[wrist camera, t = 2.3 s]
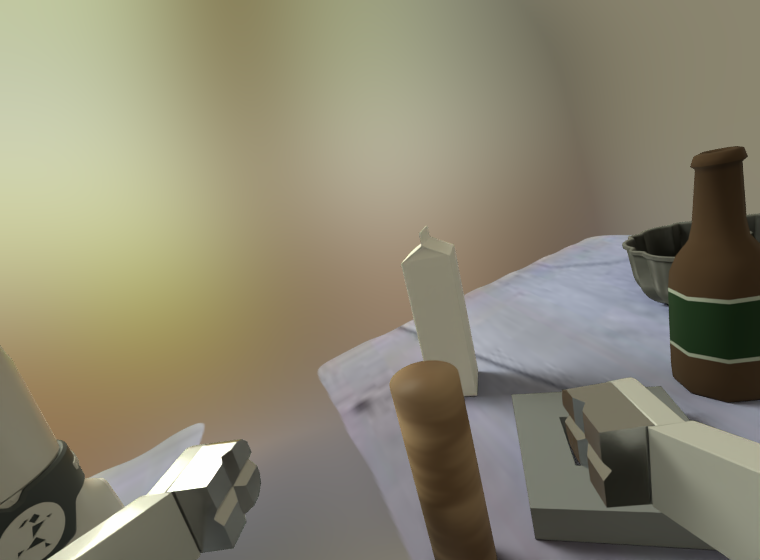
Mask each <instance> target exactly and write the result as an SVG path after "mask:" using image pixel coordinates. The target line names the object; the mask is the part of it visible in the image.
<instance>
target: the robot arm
mask: <svg viewBox="0 0 760 560" xmlns="http://www.w3.org/2000/svg"><path fill="white" fill-rule="evenodd" d="M562 402H563V406H564V408H565V409H566V411H567V412H568V414H569V416H568V417H567V419H566V420H565V425H566V431H567V436H568V439H569V442H570V446H571V448H572V450H573V452H574V455H575V456H576V458H577V460H578V462H579V463H580V465H582V466H584V467H585V468H587V469H589V476H590V481H591V483H592V485H593V486H594V488H595V490H596V491H597V493H598V494H599V496H600V498H601V499H602V501H603V502H604V504H605V506H606V507H607V508H611V507H623V506H636V505H648V504H653V507H654V508H656V509H657V510H659V511H660V512H662V513H663V514H665V515H666V516H668V517H669V518H670V519H672V520H673V521H675V522H676V523H678V524H679V525H681V526H682V527H684V528H685V529H687V530H688V531H689V532H691V533H692V534H694V535H695V536H697V537H698V538H700V539H701V540H703V541H704V542H706V543H707V544H708V545H710V546H711V547H713V548H714V549H716V550H717V551H719V552H720V553H722V554H723V555H725V556H726V557H727V558H729V559H730V560H760V444H759V443H756V442H753V441H750V440H748V439H745V438H742V437H739V436H736V435H733V434H730V433H728V432H725V431H722V430H719V429H716V428H713V427H710V426H707V425H705V424H702V423H699V422H696V421H687V422H685V421H684V420H683V419H682V418H681V417H679V416H678V415H677V414H676V413H675V412H674V411H672V410H671V409H670V408H669V407H668V406H666V405H665V404H664V403H663V402H662V401H661V400H659V399H658V398H657V397H656V396H655V395H654V394H652V393H651V392H650V391H649V390H648V389H647V388H645V387H644V386H643V385H642V384H641V383H639V382H638V381H637V380H636V379H634V378H631V377H630V378H624V379H619V380H614V381H608V382H606V383H600V384H594V385H588V386H582V387H576V388H570V389H564V390H562ZM250 454H251V450H250V447H249V445H248V443H247V441H245V440H242V439H239V440H231V441H224V442H217V443H210V444H202V445H195V446H192V447H189V448H187V449H186V450H185V451H184V452H183V453H182V454H181V456H180V457H179V458H178V459H177V460H176V461H175V463H174V464H173V465H172V466H171V467H170V469H169V470H168V471H167V472H166V473H165V474H164V476H163V477H162V478H161V479H160V480H159V481H158V483H157V484H156V485H155V486H154V487H153V488H152V490H151V491H150V492H149V493H148V494H147V495H146V496H141V497H139V498H138V499H136V500H135V501H133V502H132V503H130V504H129V505H127V506H126V507H124V505H123V504H122V502H121V501H120V499H119V498H118V496H117V495H116V493H115V492H114V490H113V489H112V487H111V486H110V485H109V483H108V482H107V481H106V480H105V479H103V478H99V479H97V478H87V479H85V475H84V473H83V471H82V469H81V467H80V466H79V460H78V459H77V457H76V455H75V454H74V452H72V451H71V450H70V449H69V447H68V446H67V444H66V443H65V442H64V441H62V440H56V438H55V436H54V435H53V433H52V431H51V429H50V427H49V426H48V424H47V422H46V420H45V418H44V416H43V415H42V413H41V411H40V409H39V407H38V406H37V404H36V402H35V400H34V398H33V396H32V395H31V393H30V391H29V389H28V387H27V386H26V384H25V382H24V380H23V378H22V376H21V375H20V373H19V371H18V369H17V367H16V366H15V364H14V362H13V360H12V359H11V358H10V357H9V355H7V354H6V352H5V351H4V350H3V349H2V347H1V346H0V560H196V559H198V558H199V557H200V555H201V554H200V553H205V552H212V551H218V550H226V549H233V548H234V547H235V544H236V542H237V540H238V538H239V536H240V534H241V532H242V530H243V528H244V526H245V524H246V518H245V514H246V513H247V512H248V511H249V510H250V509H251V508H252V507H253V506H254V505H255V503H256V501H257V499H258V496H259V492H260V486H261V479H260V473H259V470H258V467H257V465H255V464H254V463H253V462H251V461H250V460H249V457H250Z"/></svg>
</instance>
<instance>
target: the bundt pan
mask: <svg viewBox="0 0 760 560" xmlns="http://www.w3.org/2000/svg"><path fill="white" fill-rule="evenodd" d="M746 217H747V222H748V226H749V230H750V234H751V235H752V236H753V237H754V238H755V239H756V240H757V241H758V242H759V243H760V214H749V215H746ZM691 225H692V221H690V222H679V223H675V224H672V225H668V226H662V227H656V228H652V229H648V230H645V231H643V232H641V233H640V234H637V235H632V236H629V237H628V240H627V241H625V242H623V244H622V247H623V249H625V250H627V253H628V257H629V260H630V264H631V268H632V271H633V275H634V278H635V280H636V282H637V284H638V285H639V286H640V287H641V288H642V290H643V292H644V293H645V294H646V295H647V296H648V297H649V298H651V299H652V300H654V301H657V302H660V303H666V304H669V300H668V280H669V270H670V268H671V265H672V263H673V261H674V258H675V256H676V255H677V254H678V252H679V251H680V250H681V249H682V247H683V246H684V245H685V244H686V242H687V241H688V239H689V235H690V230H691Z"/></svg>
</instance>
